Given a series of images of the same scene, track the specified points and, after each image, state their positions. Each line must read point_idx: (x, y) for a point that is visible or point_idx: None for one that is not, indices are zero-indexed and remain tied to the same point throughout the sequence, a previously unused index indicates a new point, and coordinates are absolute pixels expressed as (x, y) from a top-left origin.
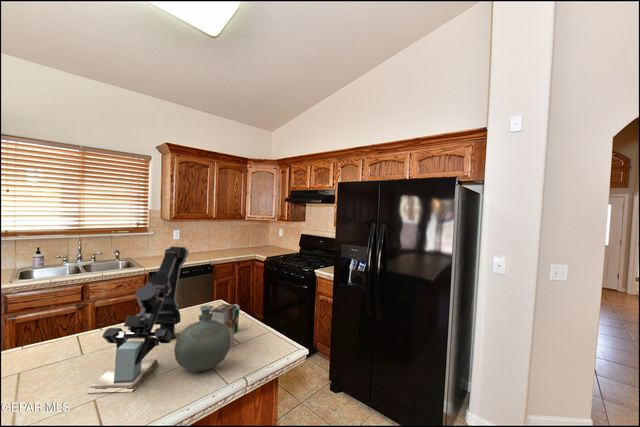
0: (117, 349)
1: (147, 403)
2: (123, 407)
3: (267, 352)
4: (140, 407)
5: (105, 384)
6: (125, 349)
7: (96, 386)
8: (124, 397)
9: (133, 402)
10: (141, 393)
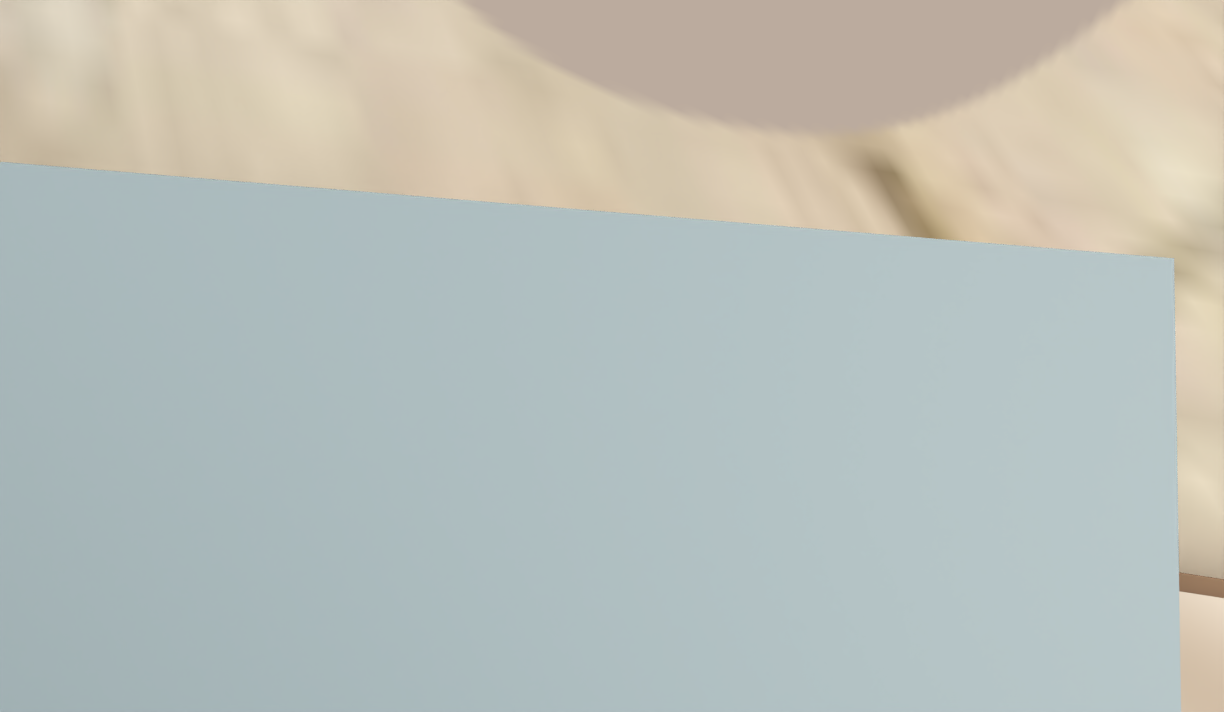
0: (1106, 270)
1: (68, 94)
2: (415, 60)
3: None
4: (157, 19)
5: None
6: (382, 215)
7: (1204, 601)
8: None
9: (292, 158)
10: None
